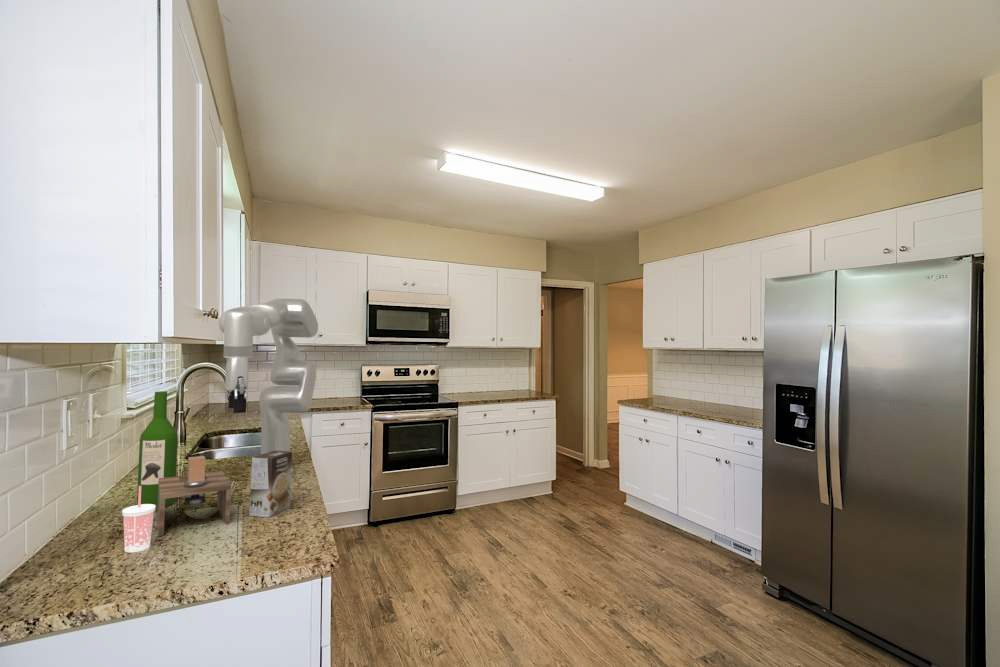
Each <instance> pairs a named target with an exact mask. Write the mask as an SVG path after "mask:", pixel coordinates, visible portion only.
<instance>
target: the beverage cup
mask: <svg viewBox="0 0 1000 667" xmlns="http://www.w3.org/2000/svg"><path fill="white" fill-rule="evenodd" d="M155 507H156V505H154V504H141V486H139V494H138V505H137V504H136V505H131V506H128V507H125V508H123V509H122V511H121V513H122V517H123V541H124V543H123V545H124V547H123V548H124V552H125V553H139V552H143V551H145V550H147V549H149V548H150V547H151V540H152V539H151V538H152V531H153V521H154V514H155V511H156V510H155Z"/></svg>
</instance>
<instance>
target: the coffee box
mask: <svg viewBox="0 0 1000 667" xmlns="http://www.w3.org/2000/svg"><path fill="white" fill-rule="evenodd" d="M292 462H293V451H290V450H289V451H271V452H267V453H264V454H261V453H260V454H256V455H253V456H251V471H250V472H251V473H250V475H251V476H250V496H249V514H248V515H249V516H250V517H260V518H267V519H268V518H270V517H273V516H275V515H278V514H279V513H281V512H284V511H286V510H288V509H290V507H291V491H292V488H291V486H292V474H291V469H292V468H293V466H292V464H293V463H292Z"/></svg>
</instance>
